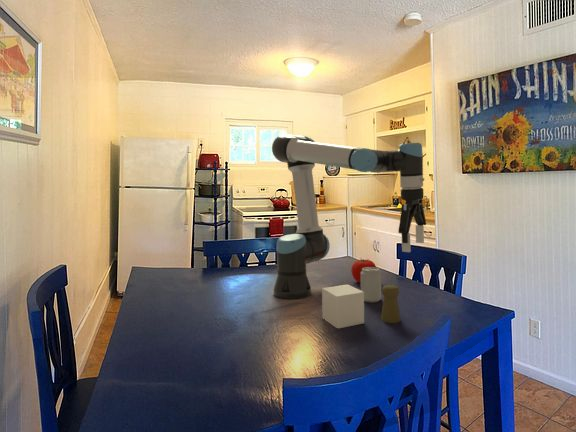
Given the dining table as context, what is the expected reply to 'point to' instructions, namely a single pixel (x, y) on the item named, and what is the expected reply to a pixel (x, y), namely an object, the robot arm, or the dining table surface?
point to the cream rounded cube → (343, 306)
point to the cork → (390, 304)
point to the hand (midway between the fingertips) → (413, 247)
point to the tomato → (360, 268)
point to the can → (371, 284)
